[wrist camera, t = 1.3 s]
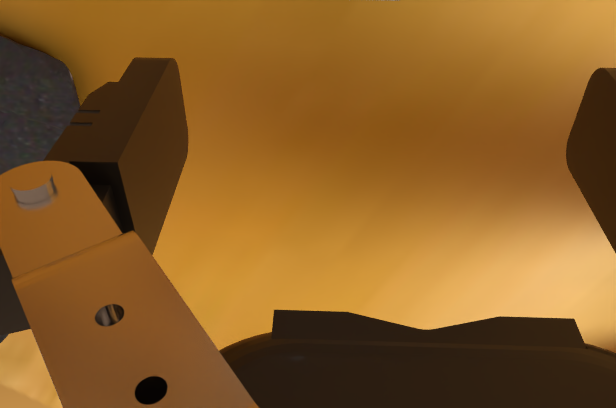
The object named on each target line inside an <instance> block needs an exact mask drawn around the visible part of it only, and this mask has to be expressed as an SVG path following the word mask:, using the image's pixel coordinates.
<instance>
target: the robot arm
mask: <svg viewBox="0 0 616 408" xmlns="http://www.w3.org/2000/svg"><path fill="white" fill-rule="evenodd" d="M187 152H188V128H187V121H186V115H185V108H184V101H183V95H182V88H181V82H180V75H179V69H178V66H177V63H176V61H175V59H173V58H134V59H133V60H132V62H131V63H130V65H129V66H128V68H127V70H126V71H125V73H124V74H123V76H122V77H121V79H120V81H119V82H108V83H106V84H105V85H103V86H102V87H100V88H98V89H97V90H95V91H94V92H92V93H91V94H89V95H88V97H87V98H86V99H85V101H84V102H83V104H82V105H81V107H80V108H79V110H78V113H76V114H75V115H74V117H73V118H72V120H71V121H70V126H69V125H67V127H66V128H65V130H64V131H63V133H62V134H61V135H60V137H59V138H58V140H57V141H56V143H55V144H54V146H53V147H52V148H51V150H50V151H49V153H48V154H47V156H46V157H45V159H44V160H43V161H38V162H33V163H28V164H24V165H21V166H18V167H16V168H13V169H11V170H9V171H7V172H5V173H3V174H1V175H0V336H1V335H6V334H10V333H14V332H19V331H23V330H27V329H31V330H32V332H33V335H34V337H35V340H36V342H37V344H38V347H39V349H40V352H41V354H42V357H43V359H44V362H45V364H46V367H47V369H48V372H49V374H50V376H51V379H52V381H53V384H54V386H55V389H56V391H57V394H58V396H59V399H60V401H61V404H62V406H63V408H616V353H614V352H611V351H608V350H605V349H602V348H599V347H596V346H593V345H589V344H585V343H584V341H583V339H582V336H581V334H580V332H579V329H578V327H577V324H576V322H575V320H574V319H564V318H531V317H495V318H490V319H485V320H479V321H474V322H469V323H464V324H459V325H453V326H448V327H443V328H438V329H431V330H422V329H417V328H412V327H408V326H404V325H400V324H396V323H391V322H387V321H383V320H379V319H375V318H370V317H366V316H362V315H358V314H354V313H349V312H330V311H297V310H274V317H273V327H272V332H270V333H265V334H260V335H257V336H253V337H250V338H247V339H244V340H241V341H239V342H236V343H234V344H232V345H229V346H227V347H225V348H223V349H221V350H220V351H218V349H217V348H216V346H215V345H214V343H213V342H212V340H211V339H210V338H209V336H208V335H207V333H206V332H205V330H204V329H203V328H202V326H201V325H200V323H199V322H198V320H197V319H196V318H195V316H194V315H193V313H192V312H191V310H190V309H189V308H188V306H187V305H186V303H185V302H184V300H183V299H182V298H181V296H180V295H179V293H178V292H177V290H176V289H175V288H174V286H173V285H172V283H171V282H170V280H169V279H168V277H167V276H166V275H165V273H164V272H163V270H162V269H161V267H160V266H159V265H158V263H157V262H156V260H155V259H154V257H153V256H152V255H153V252H154V249H155V246H156V243H157V240H158V238H159V235H160V232H161V229H162V226H163V223H164V221H165V218H166V215H167V212H168V209H169V206H170V204H171V201H172V198H173V195H174V192H175V189H176V186H177V184H178V181H179V178H180V175H181V172H182V169H183V167H184V164H185V161H186V157H187ZM566 159H567V165H568V168H569V170H570V172H571V174H572V176H573V178H574V179H575V181H576V183H577V185H578V186H579V188H580V190H581V192H582V194H583V195H584V197H585V199H586V201H587V203H588V204H589V206H590V208H591V210H592V212H593V213H594V215H595V217H596V219H597V221H598V222H599V224H600V226H601V228H602V230H603V231H604V233H605V235H606V237H607V239H608V240H609V242H610V244H611V246H612V248H613V249H614V251H615V253H616V68H599V69H597V70H596V71H595V72H594V73H593V74H592V76H591V78H590V80H589V82H588V85H587V87H586V90H585V93H584V96H583V99H582V102H581V104H580V107H579V110H578V113H577V116H576V118H575V121H574V124H573V127H572V130H571V132H570V135H569V138H568V142H567V148H566Z"/></svg>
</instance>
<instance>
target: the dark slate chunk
mask: <svg viewBox="0 0 616 408" xmlns="http://www.w3.org/2000/svg"><path fill="white" fill-rule="evenodd" d="M79 108H80V103H79V99H78V96H77V92H76V88H75V85H74V82H73V78H72V75H71V73H70V71H69V69H68V68H67V66H66V65H65V64H64V63H63V62H61V61H60V60H57V59H55V58H53V57H51V56H49V55H47V54H45V53H43V52H41V51H38V50H35V49H33V48H30V47H27V46H24V45H21V44H19V43H17V42H15V41H12V40H10V39H8V38H5V37H3V36H0V175H1V174H3V173H5V172H7V171H9V170H11V169H13V168H16V167H18V166H21V165H24V164H28V163H33V162H38V161H43V160H44V159H45V157H46V156H47V154H48V153H49V151H50V150H51V148H52V147H53V146H54V144H55V143H56V141H57V140H58V138H59V137H60V135H61V134H62V133H63V131H64V130H65V128H66V127H67V125H69V126H70V121H71V120H72V118H73V117H74V115H75V114H76V113H78V110H79ZM7 335H8V334H6V335H1V336H0V343H1V342H2V341H3V340H4V339H5V338H6V337H7Z"/></svg>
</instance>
